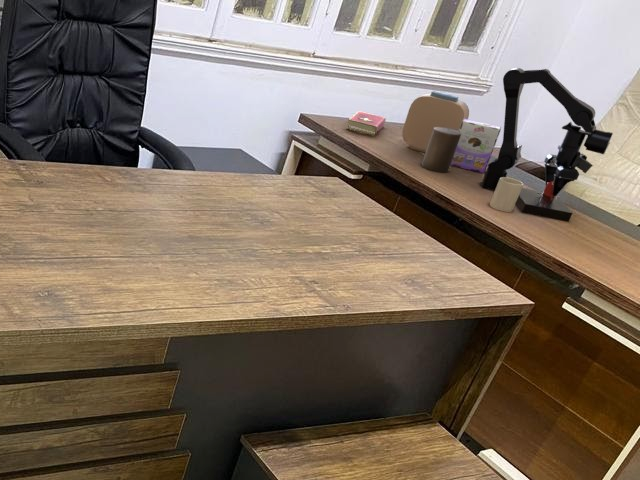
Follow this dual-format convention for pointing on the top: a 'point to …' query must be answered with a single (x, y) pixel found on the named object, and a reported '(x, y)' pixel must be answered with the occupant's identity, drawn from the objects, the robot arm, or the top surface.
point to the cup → (506, 194)
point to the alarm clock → (432, 118)
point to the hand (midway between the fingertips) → (550, 191)
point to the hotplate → (542, 205)
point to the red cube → (549, 189)
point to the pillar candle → (441, 149)
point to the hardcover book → (366, 122)
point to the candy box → (475, 145)
